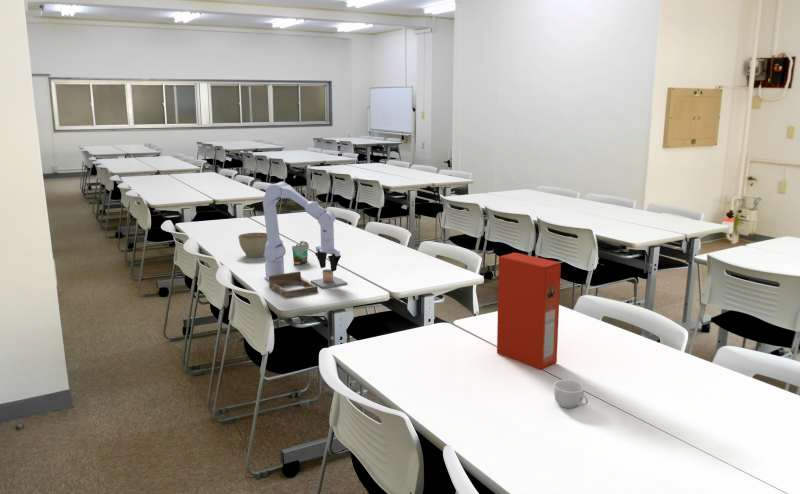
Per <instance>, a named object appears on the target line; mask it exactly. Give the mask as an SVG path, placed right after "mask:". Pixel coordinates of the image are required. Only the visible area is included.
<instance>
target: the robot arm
mask: <svg viewBox="0 0 800 494" xmlns="http://www.w3.org/2000/svg"><path fill="white" fill-rule="evenodd" d="M281 199H290V200H291V201H293V202H295V203H296V204H298V205H299V206H301V207H302V208H304V210H305V213H307V214H308V215H309V216H311V217H312V218H314V219H315V220H317V223H318V224H319V226H320V245H319V246H315V251H316V252H315V253H314V254H315V256H316V258H317V261H318V264H319V266H320V267H319V268H321V269H324V268H326V262H327V258H328V260H329V263H330V269H331V271H333V272H335V271H337V269H338V268H337V267H338V264H339V260H340V259H341V257H342V256H341V251H339V250H338V249H336V248H335V233H334V232H335V230H334V222H336V215H335V214H334V212H333V211H332V210H328V209H327V208H324V207H323V206H321V205H320V204H319V203H318V201H313V200H311V201H310V200H308V199H307V198H306V197H304V196H303V195H302V194H300V193H299V192H298V191H297V190H295V189H294V188H293V187H292V186H291V184H288V183H286V182H285V181H279V182H277V183H276V182H275V183H273V184H272V183H271V184H270V185H268V186H267V187H266V188H265V194H264V197H263V199H262V207H263V215H264V222H265V231H266V232H265V233H267V243H266V245H265V252H264V256H263V257H264V258H265V259H266V261H265V264H264V265H265V276H263V278H264V279H265V280H267V281H268V282H269V276H272V275H279V274H285V263H284V256H285V255H286V252H287V251H286V250H287V249H286V247H285V246H284V242H283V240H282V239H281V238H280V230H279V223H278V222H279V220H278V214H277V206H276V204H277V203H278V202H279V200H281ZM328 254H329V255H328ZM327 255H328V256H327Z"/></svg>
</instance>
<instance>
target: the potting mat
mask: <svg viewBox="0 0 800 494" xmlns="http://www.w3.org/2000/svg"><path fill="white" fill-rule="evenodd" d="M310 282H311V283H312V284H314V285H316V286H318V287H319V288H320V289H322V290H323V289H328V288H334V287H340V286H344V285H345V286H346V285H348V282H347V281H345V280H343V279H341V278H339V277H337V276H334V275H333V282H332V283H324V282H323V278H317V279H312V280H310Z"/></svg>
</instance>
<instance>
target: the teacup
mask: <svg viewBox="0 0 800 494" xmlns="http://www.w3.org/2000/svg"><path fill="white" fill-rule="evenodd" d="M553 393H554V394H553V395H554V400H555V402H556V403H557V404H558V405H559V406H561V407H562V408H565V409H575V408H578V407H579V406H586V405H588V404H589V399H588V397H587V396H586V395H584V394H585V385H583V384H582V383H581V382H579V381H576V380H572V379H560V380H559V379H558V380H556V381H555V382H554V383H553ZM584 399H585V403H583V400H584Z"/></svg>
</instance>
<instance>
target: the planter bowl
mask: <svg viewBox="0 0 800 494" xmlns="http://www.w3.org/2000/svg"><path fill="white" fill-rule="evenodd" d="M238 240H239V241H238V242H239V245H240V249H241V250H242V251H243V253H244V254H245V256H246V257H247V258H261V257H265V256H264V252H265V245H266V243H267V232H248V233H241V234H239V235H238Z"/></svg>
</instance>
